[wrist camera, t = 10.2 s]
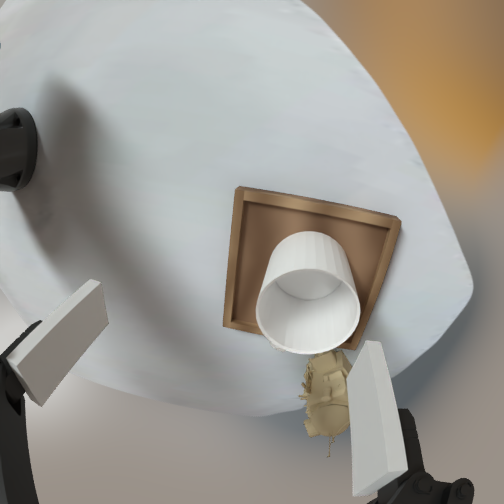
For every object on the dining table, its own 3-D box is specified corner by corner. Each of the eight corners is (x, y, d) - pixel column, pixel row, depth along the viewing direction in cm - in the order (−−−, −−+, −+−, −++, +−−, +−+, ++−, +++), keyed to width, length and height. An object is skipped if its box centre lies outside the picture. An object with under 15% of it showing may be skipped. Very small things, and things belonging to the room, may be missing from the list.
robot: (284, 357, 40) (271, 444, 26) (335, 337, 37) (340, 429, 23) (315, 395, 42) (310, 473, 28) (360, 379, 39) (368, 460, 26)
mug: (304, 213, 30) (302, 246, 21) (363, 263, 30) (381, 310, 22) (239, 287, 35) (218, 335, 26) (296, 327, 36) (290, 381, 27)
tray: (226, 317, 38) (222, 326, 37) (239, 186, 31) (235, 189, 29) (353, 340, 36) (355, 350, 34) (396, 216, 29) (401, 221, 27)
